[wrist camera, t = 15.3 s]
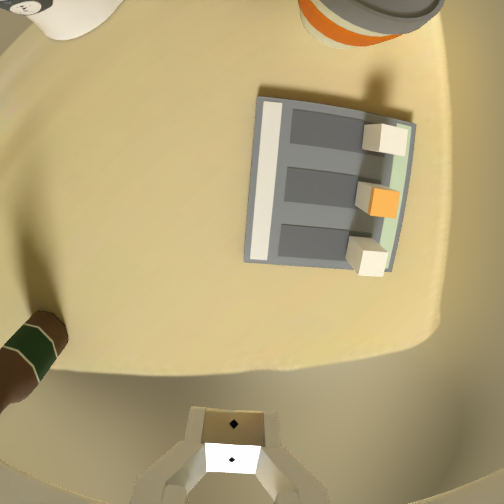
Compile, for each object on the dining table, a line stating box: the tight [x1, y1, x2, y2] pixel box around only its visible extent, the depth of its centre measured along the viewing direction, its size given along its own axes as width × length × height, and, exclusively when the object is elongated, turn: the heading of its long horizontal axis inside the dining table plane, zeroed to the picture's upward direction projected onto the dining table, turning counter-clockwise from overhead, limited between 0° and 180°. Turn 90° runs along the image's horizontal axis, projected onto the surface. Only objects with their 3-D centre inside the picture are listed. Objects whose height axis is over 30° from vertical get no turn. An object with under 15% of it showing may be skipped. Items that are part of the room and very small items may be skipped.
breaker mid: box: [355, 181, 400, 219], centre depth 32 cm, size 3×3×5 cm
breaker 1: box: [362, 124, 408, 156], centre depth 30 cm, size 3×3×5 cm
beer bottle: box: [0, 311, 68, 413], centre depth 32 cm, size 8×8×24 cm
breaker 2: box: [345, 236, 389, 277], centre depth 34 cm, size 3×3×5 cm
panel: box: [244, 96, 416, 272], centre depth 36 cm, size 19×19×2 cm
